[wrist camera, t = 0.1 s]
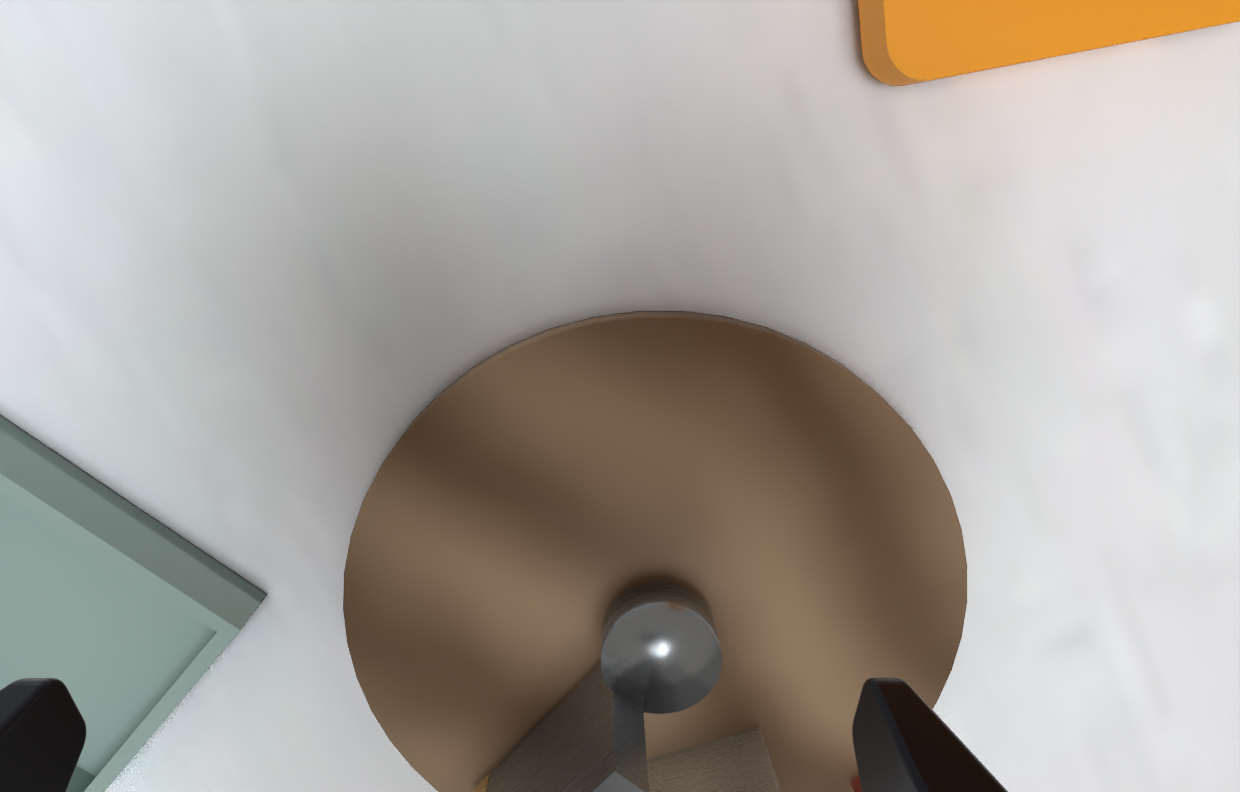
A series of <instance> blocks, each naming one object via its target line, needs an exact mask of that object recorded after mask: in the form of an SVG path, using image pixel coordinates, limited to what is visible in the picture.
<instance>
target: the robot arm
mask: <svg viewBox="0 0 1240 792" xmlns="http://www.w3.org/2000/svg"><path fill="white" fill-rule="evenodd" d="M852 737H853V745H854V751H855V757H856V762H857V768H858V773H859V778H860V784H861V789H862V792H1008V791H1007V790H1006V789H1005V788H1004V787H1003V786H1002V785H1001V784H1000V783H999V782H998V780H997V779H996V778H995V777H994V776H993V775H992V774H991V773H990V772H989V771H988V770H987V768H986V767H985V766H984V765H983V764H982V763H981V762H980V761H979V760H978V759H977V758H976V757H975V755H974V754H973V753H972V752H971V751H970V750H969V749H968V748H967V747H966V746H965V745H964V744H963V742H962V741H961V740H960V739H959V738H958V737H957V736H956V735H955V734H954V733H953V732H952V730H951V729H950V728H949V727H948V726H947V725H946V724H945V723H944V722H943V721H942V720H941V719H940V717H939V716H938V715H937V714H936V713H935V712H934V711H933V710H932V709H931V708H930V707H929V706H928V704H927V703H926V702H925V701H924V700H923V699H922V698H921V697H920V696H919V695H918V694H917V693H916V691H915V690H914V689H913V688H912V687H911V686H910V685H909V684H908V683H907V682H906V681H904V680H902V679H900V678H868V679H867V680H866V681H865V682H864V684H863V687H862V691H861V694H860V698H859V702H858V705H857V709H856V713H855V716H854V720H853V726H852ZM85 739H86V723H85V721H84V719H83V717H82V715H81V713H80V711H79V709H78V707H77V706H76V704H75V702H74V700H73V698H72V696H71V694H70V693H69V691H68V689H67V687H66V685H65V684H64V683H63V682H62V681H61V680H59V679H57V678H23V679H19V680H16V681H14V682H12V683H10V684H9V685H7V686H6V687H4V688H3V689H1V690H0V792H66V790H67V788H68V785H69V783H70V780H71V778H72V775H73V773H74V770H75V768H76V765H77V763H78V760H79V757H80V755H81V752H82V750H83V747H84V744H85Z"/></svg>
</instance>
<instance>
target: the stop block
mask: <svg viewBox="0 0 1240 792" xmlns="http://www.w3.org/2000/svg"><path fill="white" fill-rule="evenodd" d="M648 773H649V787H650V792H782V790H781V787H780V784H779V781H778V778H777V775H776V773H775V770H774V767H773V764H772V761H771V758H770V755H769V752H768V750H767V747H766V744H765V741H764V738H763V735H762V732H761V729H760V727H757V728H754V729H750V730H747V731H743V732H740V733H736V734H733V735H730V736H726V737H723V738H719V739H716V740H712V741H709V742H705V743H702V744H699V745H695V746H692V747H688V748H685V749H681V750H678V751H675V752H671V753H668V754H664V755H661V756H657V757H654V758H651V759H648Z"/></svg>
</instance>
